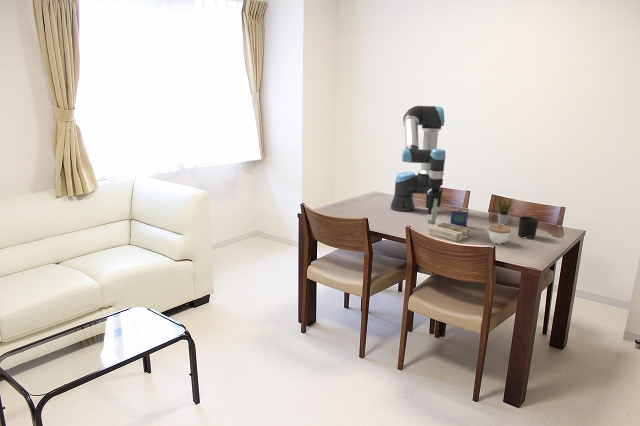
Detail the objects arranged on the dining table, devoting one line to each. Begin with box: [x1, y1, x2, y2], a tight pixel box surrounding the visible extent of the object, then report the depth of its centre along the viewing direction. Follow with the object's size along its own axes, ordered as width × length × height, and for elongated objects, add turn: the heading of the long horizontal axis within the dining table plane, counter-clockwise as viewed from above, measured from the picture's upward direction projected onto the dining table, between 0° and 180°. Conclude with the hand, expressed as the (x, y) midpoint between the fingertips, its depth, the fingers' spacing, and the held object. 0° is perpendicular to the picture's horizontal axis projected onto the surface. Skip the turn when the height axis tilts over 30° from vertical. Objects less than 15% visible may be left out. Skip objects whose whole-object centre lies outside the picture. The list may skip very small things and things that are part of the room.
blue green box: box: [450, 207, 469, 228], centre depth 293 cm, size 9×3×11 cm, turn 74°
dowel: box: [427, 198, 438, 225], centre depth 284 cm, size 4×4×14 cm
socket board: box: [428, 221, 472, 243], centre depth 276 cm, size 16×16×4 cm
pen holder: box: [517, 216, 539, 239], centre depth 277 cm, size 9×9×10 cm
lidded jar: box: [488, 224, 512, 245], centre depth 266 cm, size 11×11×9 cm
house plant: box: [495, 196, 521, 225], centre depth 300 cm, size 14×14×16 cm
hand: (431, 218), depth 285 cm, fingers closed on dowel, 4 cm apart
